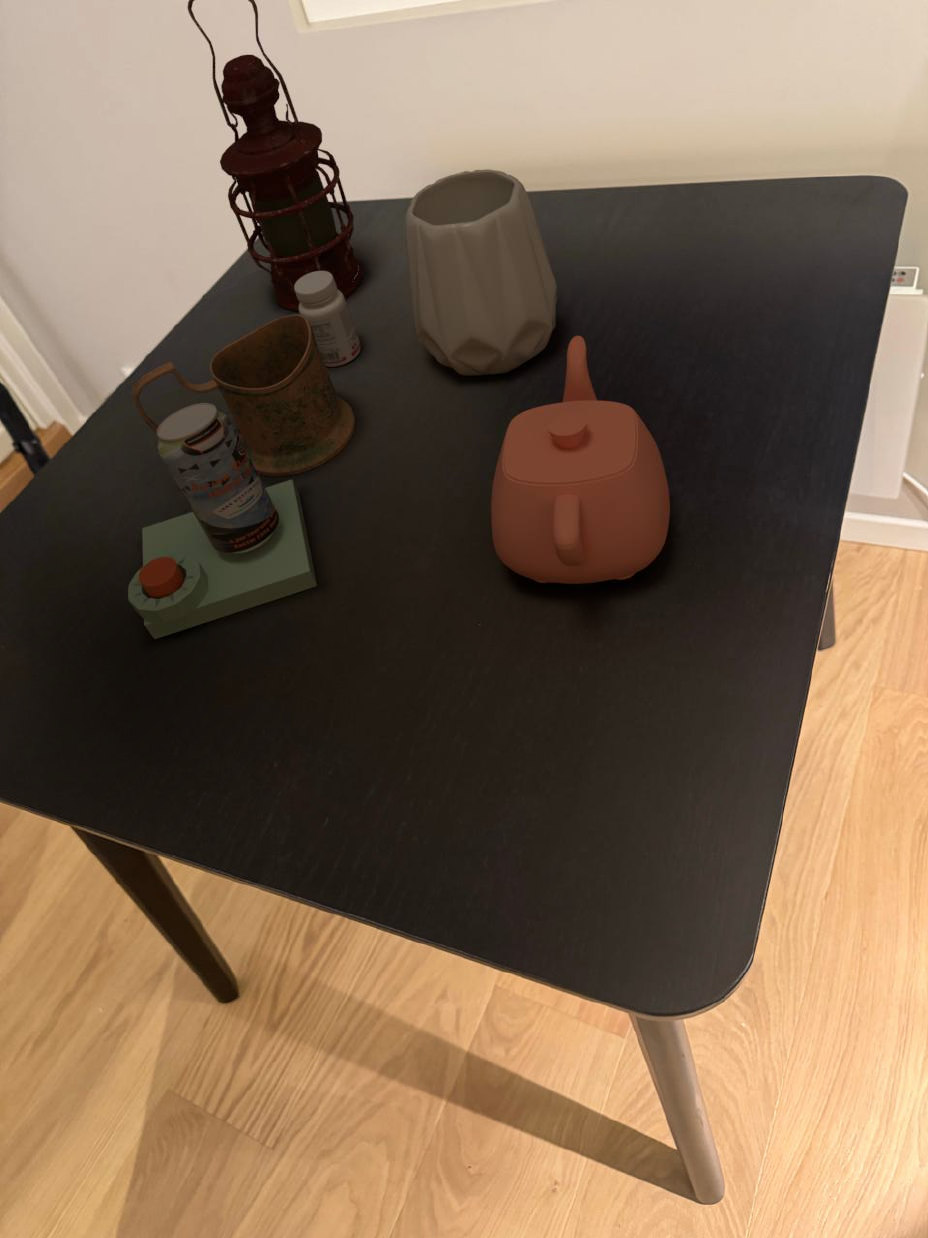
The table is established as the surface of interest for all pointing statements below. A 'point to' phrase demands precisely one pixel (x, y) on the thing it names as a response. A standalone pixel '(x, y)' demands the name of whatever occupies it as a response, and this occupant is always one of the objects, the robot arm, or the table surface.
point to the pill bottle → (328, 317)
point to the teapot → (579, 488)
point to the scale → (224, 568)
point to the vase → (479, 273)
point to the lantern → (282, 181)
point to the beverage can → (217, 478)
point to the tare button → (161, 577)
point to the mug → (275, 397)
